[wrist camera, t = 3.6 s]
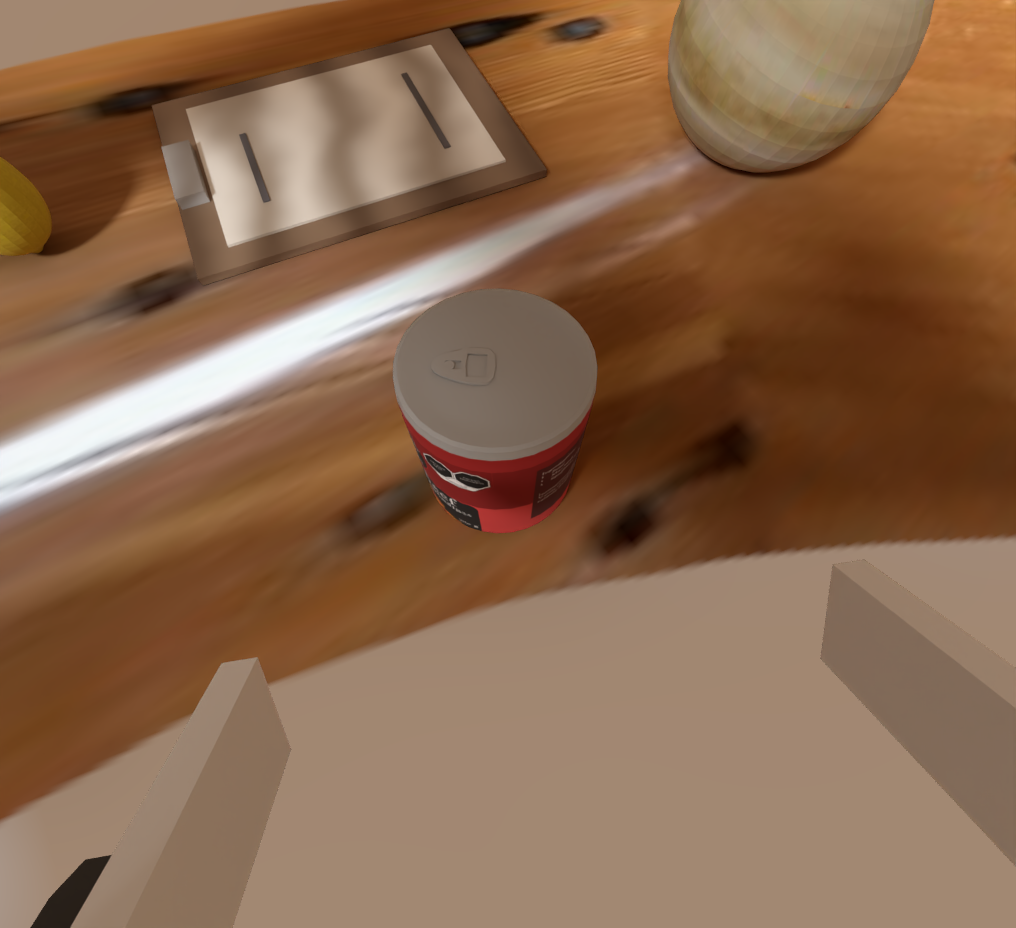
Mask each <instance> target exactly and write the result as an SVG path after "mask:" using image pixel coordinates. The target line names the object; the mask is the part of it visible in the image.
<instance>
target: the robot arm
mask: <svg viewBox="0 0 1016 928" xmlns="http://www.w3.org/2000/svg"><path fill="white" fill-rule="evenodd" d="M821 660H822V661H823V662H824V663H825V664H826V665H827V666H828V667H829V668H830V669H831V670H832V671H833V672H834V673H835V675H836V676H837V677H838V678H839V679H840V680H841V681H842V682H843V683H844V684H845V685H846V686H847V687H848V688H849V689H850V691H851V692H852V693H853V694H854V695H855V696H856V697H857V698H858V699H859V700H860V701H861V702H862V703H863V704H864V705H865V706H866V708H867V709H868V710H869V711H870V712H871V713H872V714H873V715H874V716H875V717H876V718H877V719H878V720H879V721H880V723H881V724H882V725H883V726H884V727H885V728H886V729H887V730H888V731H889V732H890V733H891V734H892V735H893V736H894V737H895V738H896V739H897V741H898V742H899V743H900V744H901V745H902V746H903V747H904V748H905V749H906V750H907V751H908V752H909V753H910V754H911V756H913V758H914V759H915V760H916V761H917V762H918V763H919V764H920V765H921V766H922V767H923V768H924V769H925V770H926V772H927V773H928V774H929V775H931V777H932V778H933V779H934V780H935V781H936V782H937V783H938V784H939V785H940V786H941V787H942V789H943V790H944V791H945V792H946V793H947V794H948V795H949V796H950V797H951V798H952V799H953V800H954V801H955V802H956V803H957V805H958V806H959V807H960V808H961V809H962V810H963V811H964V812H965V813H966V814H967V815H968V816H969V817H970V818H971V819H972V821H973V822H974V823H975V824H976V825H977V826H978V827H979V828H980V829H981V830H982V831H983V832H984V833H985V834H986V835H987V837H988V838H989V839H990V840H991V841H992V842H993V843H994V844H995V845H996V846H997V847H998V848H999V849H1000V850H1001V851H1002V852H1003V854H1004V855H1005V856H1006V857H1007V858H1008V859H1009V860H1010V861H1011V862H1012V863H1013V864H1014V865H1015V866H1016V667H1014V666H1013V665H1011V664H1010V663H1009V662H1007V661H1006V660H1004V659H1003V658H1002V657H1000V656H999V655H997V654H996V653H995V652H993V651H992V650H990V649H989V648H988V647H986V646H985V645H983V644H982V643H981V642H979V641H978V640H976V639H975V638H974V637H972V636H971V635H969V634H968V633H966V632H965V631H964V630H962V629H961V628H959V627H958V626H957V625H955V624H954V623H953V622H951V621H950V620H948V619H947V618H945V617H944V616H943V615H941V614H940V613H939V612H937V611H936V610H934V609H933V608H932V607H930V606H929V605H927V604H926V603H925V602H923V601H921V600H920V599H919V598H918V597H916V596H915V595H913V594H912V593H910V592H909V591H908V590H906V589H905V588H904V587H902V586H901V585H899V584H898V583H897V582H895V581H894V580H892V579H891V578H889V577H888V576H887V575H885V574H884V573H883V572H881V571H880V570H878V569H877V568H875V567H874V566H873V565H871V564H870V563H868V562H867V561H866V560H858V561H852V562H846V563H839V564H834V565H833V567H832V575H831V582H830V590H829V597H828V605H827V612H826V620H825V628H824V635H823V643H822V651H821ZM290 751H291V748H290V745H289V743H288V740H287V737H286V734H285V731H284V728H283V726H282V723H281V720H280V718H279V715H278V712H277V709H276V707H275V704H274V701H273V699H272V696H271V693H270V690H269V687H268V685H267V682H266V679H265V677H264V674H263V671H262V668H261V666H260V663H259V660H258V657H257V658H251V659H244V660H238V661H232V662H226V663H222V664H221V665H220V667H219V669H218V670H217V672H216V674H215V676H214V677H213V679H212V681H211V683H210V684H209V686H208V688H207V690H206V691H205V693H204V695H203V697H202V698H201V700H200V702H199V704H198V705H197V707H196V709H195V711H194V712H193V714H192V716H191V718H190V719H189V721H188V723H187V725H186V726H185V728H184V730H183V732H182V734H181V735H180V737H179V739H178V741H177V742H176V744H175V746H174V747H173V749H172V751H171V753H170V754H169V756H168V758H167V760H166V761H165V763H164V765H163V767H162V768H161V770H160V772H159V774H158V775H157V777H156V779H155V781H154V782H153V784H152V786H151V787H150V789H149V791H148V793H147V795H146V797H145V798H144V800H143V802H142V803H141V805H140V807H139V809H138V810H137V812H136V814H135V816H134V817H133V819H132V821H131V822H130V824H129V826H128V828H127V830H126V831H125V833H124V835H123V836H122V838H121V840H120V842H119V844H118V845H117V847H116V849H115V850H114V852H113V854H112V855H109V856H103V857H98V858H92V859H87V860H85V861H84V862H83V863H82V864H81V865H80V866H79V867H78V868H77V869H76V870H75V871H74V872H73V874H71V876H70V877H69V878H68V879H67V880H66V881H65V882H64V883H63V884H62V885H61V886H60V887H59V888H58V889H57V890H56V892H55V893H54V894H53V895H52V896H51V897H50V898H49V899H48V901H47V903H46V904H45V906H44V907H43V909H42V910H41V912H40V914H39V915H38V917H37V919H36V920H35V922H34V923H33V925H32V926H31V928H233V925H234V922H235V919H236V915H237V913H238V910H239V906H240V903H241V900H242V897H243V894H244V891H245V888H246V885H247V882H248V879H249V876H250V873H251V870H252V867H253V864H254V861H255V858H256V855H257V852H258V848H259V845H260V842H261V839H262V836H263V833H264V830H265V827H266V824H267V821H268V818H269V815H270V812H271V809H272V806H273V803H274V800H275V796H276V794H277V791H278V787H279V784H280V781H281V778H282V775H283V772H284V769H285V766H286V763H287V760H288V757H289V754H290Z"/></svg>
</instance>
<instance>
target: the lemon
mask: <svg viewBox="0 0 1016 928" xmlns="http://www.w3.org/2000/svg"><path fill="white" fill-rule="evenodd" d="M51 230H52V218H51V214H50V211H49V208H48V206H47V204H46V202H45V201H44V199H43V197H42V196H41V194H40V193H39V191H38V190H37V189H36V187H35V186H34V185H33V184H32V183H31V182H30V181H29V180H28V179H27V178H26V177H25V176H24V175H23V174H22V173H21V172H19V171H18V170H17V169H16V168H15V167H14V166H12V165H11V164H10V163H9V162H7V161H6V160H4V159H3V158H2V157H0V255H9V256H18V255H25V254H29V253H39V252H41V251H42V250H43V246H44V244H45V243H46V242H47V240H48V238H49V237H50V234H51Z"/></svg>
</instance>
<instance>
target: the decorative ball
mask: <svg viewBox="0 0 1016 928" xmlns="http://www.w3.org/2000/svg"><path fill="white" fill-rule="evenodd" d="M933 4H934V0H681V2H680V5H679V8H678V10H677V13H676V15H675V18H674V23H673V28H672V33H671V38H670V43H669V56H668V80H669V86H670V92H671V97H672V102H673V107H674V109H675V112H676V115H677V117H678V119H679V121H680V123H681V125H682V127H683V128H684V130H685V132H686V133H687V135H688V137H689V138H690V139H691V141H692V142H693V143H694V144H695V146H696V147H698V148H699V149H700V150H701V151H702V152H703V153H704V154H705V155H707V156H708V157H710V158H711V159H713V160H714V161H716V162H718V163H720V164H722V165H724V166H727V167H730V168H733V169H738V170H744V171H749V172H774V171H781V170H786V169H791V168H795V167H798V166H801V165H803V164H806V163H809V162H811V161H814V160H816V159H818V158H820V157H822V156H824V155H826V154H828V153H829V152H831V151H832V150H834V149H836V148H837V147H839V146H840V145H842V144H844V143H845V142H847V141H848V140H850V139H851V138H852V137H853V136H854V135H855V134H856V133H858V132H859V131H860V130H861V129H862V128H863V127H864V126H866V125H867V124H868V123H869V122H870V121H871V120H872V119H873V118H874V117H875V116H876V115H877V114H878V113H879V111H880V110H881V109H882V108H883V107H884V105H885V104H886V103H887V102H888V101H889V99H890V98H891V97H892V96H893V95H894V93H895V92H896V91H897V90H898V88H899V86H900V85H901V83H902V81H903V80H904V78H905V76H906V75H907V73H908V71H909V70H910V68H911V66H912V65H913V63H914V60H915V58H916V56H917V54H918V51H919V49H920V46H921V44H922V41H923V39H924V36H925V34H926V31H927V29H928V26H929V24H930V19H931V14H932V9H933Z"/></svg>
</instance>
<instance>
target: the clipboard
mask: <svg viewBox="0 0 1016 928" xmlns="http://www.w3.org/2000/svg"><path fill="white" fill-rule="evenodd" d="M152 109H153V113H154V116H155V120H156V124H157V128H158V131H159V135H160V139H161V143H162V146H163V147H161V148H162V152H163V155H164V159H165V163H166V167H167V170H168V174H169V178H170V182H171V186H172V189H173V193H174V197H175V200H176V201H177V203H178V207H179V210H180V214H181V218H182V222H183V225H184V229H185V233H186V237H187V240H188V244H189V248H190V252H191V255H192V259H193V263H194V267H195V270H196V274H197V278H198V280H199V282H200V283H201V284H202V285H207V284H210V283H213V282H216V281H219V280H222V279H225V278H229V277H232V276H235V275H238V274H241V273H244V272H247V271H251V270H254V269H257V268H260V267H263V266H266V265H269V264H273V263H276V262H279V261H282V260H285V259H288V258H291V257H295V256H298V255H301V254H304V253H307V252H310V251H313V250H317V249H320V248H323V247H326V246H329V245H332V244H336V243H339V242H342V241H345V240H348V239H351V238H354V237H358V236H361V235H364V234H367V233H370V232H373V231H376V230H380V229H383V228H386V227H389V226H392V225H395V224H398V223H402V222H405V221H408V220H411V219H414V218H417V217H420V216H424V215H427V214H430V213H433V212H436V211H439V210H442V209H446V208H449V207H452V206H455V205H458V204H461V203H464V202H468V201H471V200H474V199H477V198H480V197H483V196H487V195H490V194H493V193H496V192H499V191H502V190H505V189H509V188H512V187H515V186H518V185H521V184H524V183H527V182H531V181H534V180H537V179H540V178H543V177H546V173H547V169H546V167H545V166H544V165H543V163H542V162H541V160H540V159H539V157H538V156H537V154H536V153H535V151H534V150H533V149H532V147H531V146H530V144H529V143H528V141H527V140H526V138H525V137H524V135H523V134H522V133H521V131H520V130H519V128H518V127H517V125H516V124H515V122H514V121H513V119H512V118H511V117H510V115H509V114H508V112H507V111H506V109H505V108H504V106H503V105H502V103H501V102H500V101H499V99H498V98H497V96H496V95H495V93H494V92H493V90H492V89H491V87H490V86H489V85H488V83H487V82H486V80H485V79H484V77H483V76H482V74H481V73H480V71H479V70H478V69H477V67H476V66H475V64H474V63H473V61H472V60H471V58H470V57H469V55H468V54H467V53H466V51H465V50H464V48H463V47H462V45H461V44H460V42H459V41H458V39H457V38H456V37H455V35H454V34H453V32H452V31H451V29H450V28H448V29H444V30H440V31H436V32H432V33H428V34H425V35H421V36H417V37H413V38H409V39H405V40H401V41H398V42H394V43H390V44H386V45H382V46H378V47H374V48H371V49H367V50H363V51H359V52H355V53H351V54H347V55H344V56H340V57H336V58H332V59H328V60H324V61H321V62H317V63H313V64H309V65H305V66H301V67H297V68H294V69H290V70H286V71H282V72H278V73H274V74H270V75H267V76H263V77H259V78H255V79H251V80H247V81H244V82H240V83H236V84H232V85H228V86H224V87H220V88H217V89H213V90H209V91H205V92H201V93H197V94H193V95H190V96H186V97H182V98H178V99H174V100H170V101H167V102H163V103H159V104H155V105H152Z"/></svg>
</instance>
